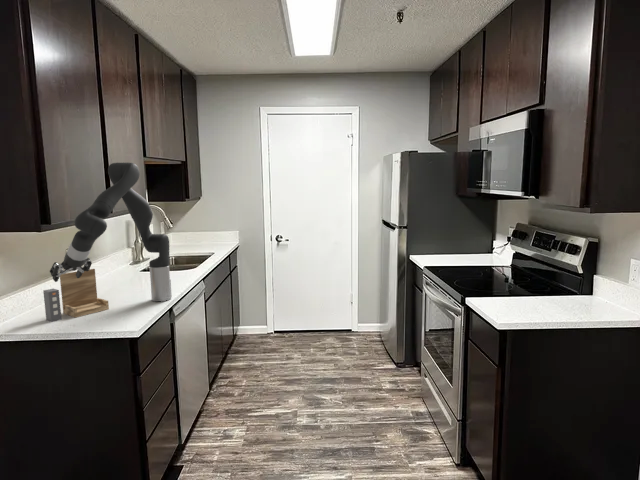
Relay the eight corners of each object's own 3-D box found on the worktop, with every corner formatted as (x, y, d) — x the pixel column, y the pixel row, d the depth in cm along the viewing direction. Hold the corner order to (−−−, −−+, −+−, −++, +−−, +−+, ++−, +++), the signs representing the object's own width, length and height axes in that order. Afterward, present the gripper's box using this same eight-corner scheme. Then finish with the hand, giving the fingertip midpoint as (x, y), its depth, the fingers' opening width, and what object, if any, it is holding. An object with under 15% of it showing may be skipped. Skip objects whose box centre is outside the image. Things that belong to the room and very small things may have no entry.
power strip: (61, 319, 181) (58, 290, 179) (51, 321, 178) (48, 292, 176) (56, 317, 184) (53, 288, 182) (46, 319, 181) (43, 290, 179)
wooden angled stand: (108, 309, 195) (105, 271, 193) (75, 317, 183) (71, 277, 181) (96, 305, 202) (93, 268, 199) (63, 313, 190) (59, 274, 187)
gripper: (92, 243, 172) (80, 268, 179) (54, 247, 160) (43, 274, 168) (100, 257, 169) (87, 282, 177) (62, 262, 158) (50, 288, 165)
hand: (66, 278), depth 172 cm, fingers open, 8 cm apart
